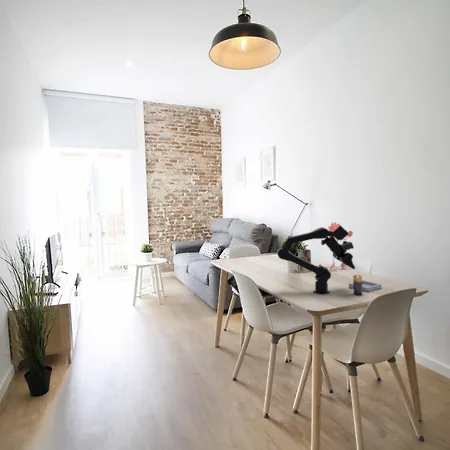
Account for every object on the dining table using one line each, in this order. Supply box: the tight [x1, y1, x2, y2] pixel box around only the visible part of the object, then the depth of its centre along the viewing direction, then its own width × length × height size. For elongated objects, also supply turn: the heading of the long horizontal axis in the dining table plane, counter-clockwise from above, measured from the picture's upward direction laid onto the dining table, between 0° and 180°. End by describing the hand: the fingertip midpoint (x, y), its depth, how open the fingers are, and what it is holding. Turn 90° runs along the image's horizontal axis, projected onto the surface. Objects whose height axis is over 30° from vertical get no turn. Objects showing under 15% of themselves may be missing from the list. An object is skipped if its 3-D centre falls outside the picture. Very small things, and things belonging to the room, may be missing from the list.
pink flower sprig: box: [326, 221, 354, 272], centre depth 244 cm, size 15×26×35 cm, turn 111°
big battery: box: [352, 273, 363, 296], centre depth 181 cm, size 4×4×11 cm
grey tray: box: [348, 279, 382, 293], centre depth 192 cm, size 12×12×2 cm
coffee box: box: [297, 248, 312, 274], centre depth 241 cm, size 9×6×16 cm
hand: (351, 266), depth 186 cm, fingers open, 9 cm apart
